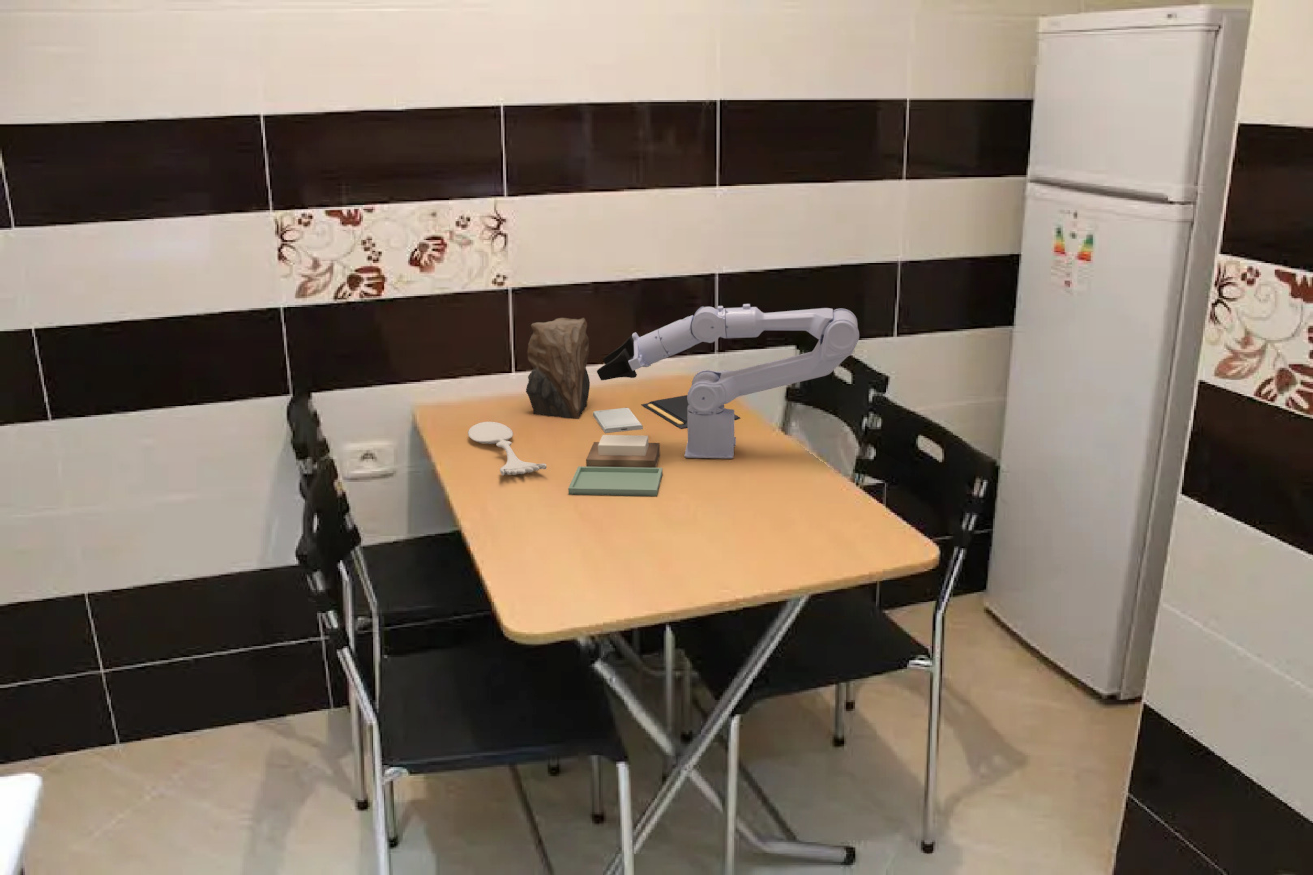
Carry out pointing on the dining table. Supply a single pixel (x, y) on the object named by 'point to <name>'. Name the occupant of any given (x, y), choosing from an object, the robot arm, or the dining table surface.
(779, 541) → the dining table surface
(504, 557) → the dining table surface
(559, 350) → the brown rock
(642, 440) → the tile
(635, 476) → the tray
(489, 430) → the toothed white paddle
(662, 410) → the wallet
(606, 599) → the dining table surface
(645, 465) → the deck
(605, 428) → the hard drive
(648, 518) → the dining table surface
